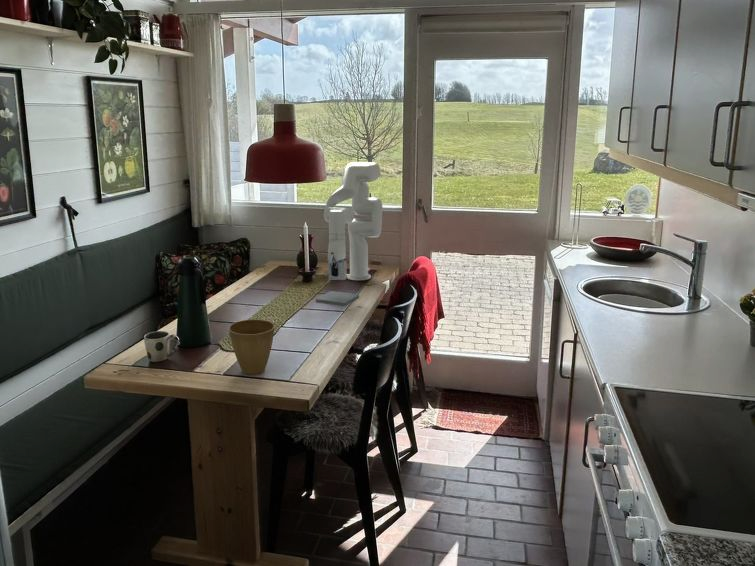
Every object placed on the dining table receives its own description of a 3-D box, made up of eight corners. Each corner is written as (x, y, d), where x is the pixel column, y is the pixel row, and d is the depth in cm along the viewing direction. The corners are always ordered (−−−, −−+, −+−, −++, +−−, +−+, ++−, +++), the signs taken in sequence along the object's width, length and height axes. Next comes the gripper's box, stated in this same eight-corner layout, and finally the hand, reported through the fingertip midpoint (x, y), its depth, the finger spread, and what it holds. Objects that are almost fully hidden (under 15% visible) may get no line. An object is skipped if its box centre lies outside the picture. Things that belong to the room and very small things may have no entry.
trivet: (330, 293, 302) (330, 290, 302) (358, 296, 297) (358, 294, 296) (315, 301, 289) (315, 299, 289) (344, 305, 283) (344, 302, 283)
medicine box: (346, 278, 295) (346, 260, 293) (344, 280, 291) (344, 262, 289) (330, 277, 297) (330, 259, 295) (328, 279, 292) (328, 261, 290)
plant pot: (224, 378, 206) (221, 332, 201) (241, 361, 220) (238, 318, 215) (268, 381, 203) (265, 335, 199) (281, 363, 217) (280, 320, 213)
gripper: (338, 232, 298) (338, 269, 303) (321, 239, 283) (321, 277, 287) (352, 234, 295) (352, 271, 300) (336, 240, 280) (336, 279, 284)
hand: (337, 274), depth 293 cm, fingers closed on medicine box, 5 cm apart
